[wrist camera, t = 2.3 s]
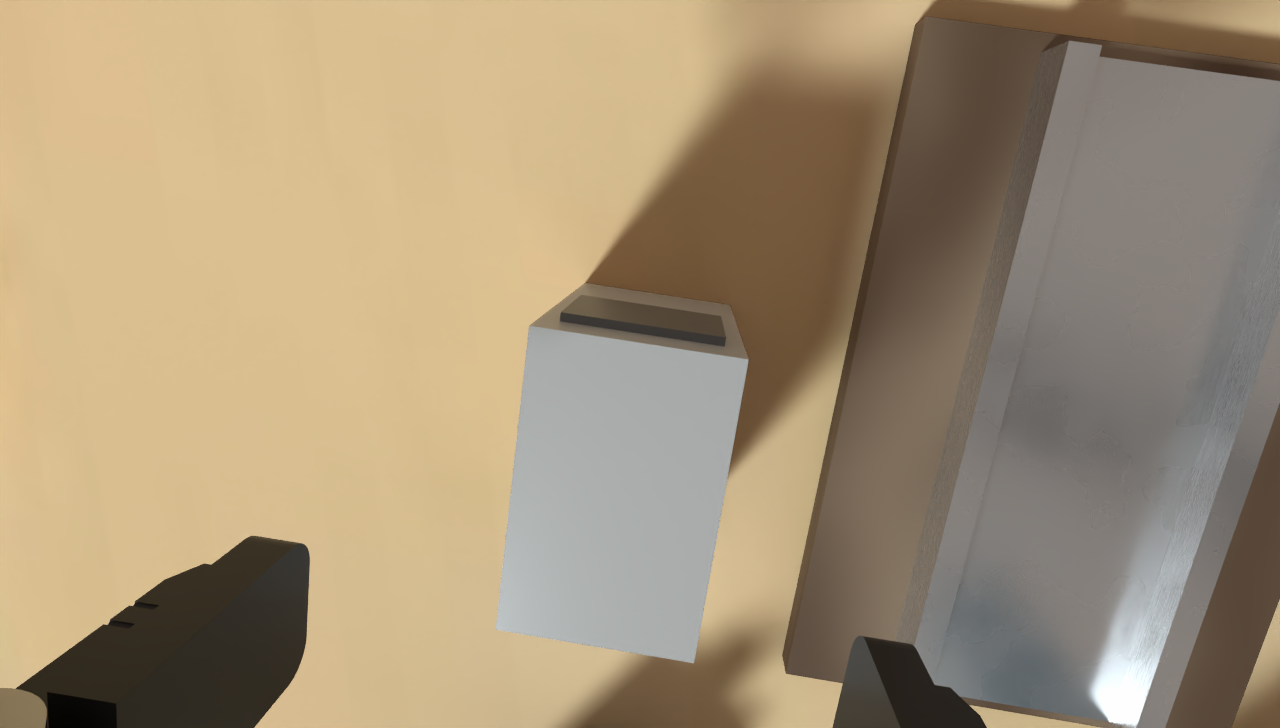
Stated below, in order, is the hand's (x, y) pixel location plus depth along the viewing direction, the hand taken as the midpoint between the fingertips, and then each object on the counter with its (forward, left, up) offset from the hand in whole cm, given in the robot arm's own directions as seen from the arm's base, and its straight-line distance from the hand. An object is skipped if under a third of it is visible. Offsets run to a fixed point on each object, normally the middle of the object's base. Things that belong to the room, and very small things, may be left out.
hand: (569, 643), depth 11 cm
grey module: (0, 0, -13) cm, 13 cm away
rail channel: (-13, -2, -13) cm, 19 cm away
